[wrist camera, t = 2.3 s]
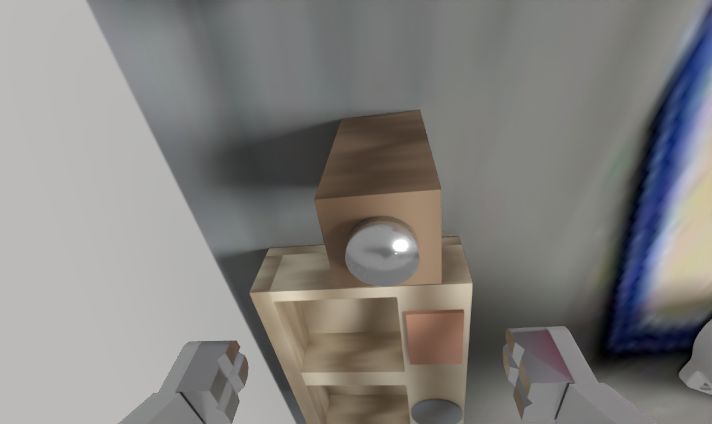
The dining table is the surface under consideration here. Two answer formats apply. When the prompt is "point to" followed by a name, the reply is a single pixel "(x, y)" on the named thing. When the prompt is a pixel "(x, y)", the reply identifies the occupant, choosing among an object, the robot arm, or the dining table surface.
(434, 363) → the tag socket block
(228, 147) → the dining table surface
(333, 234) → the plug
